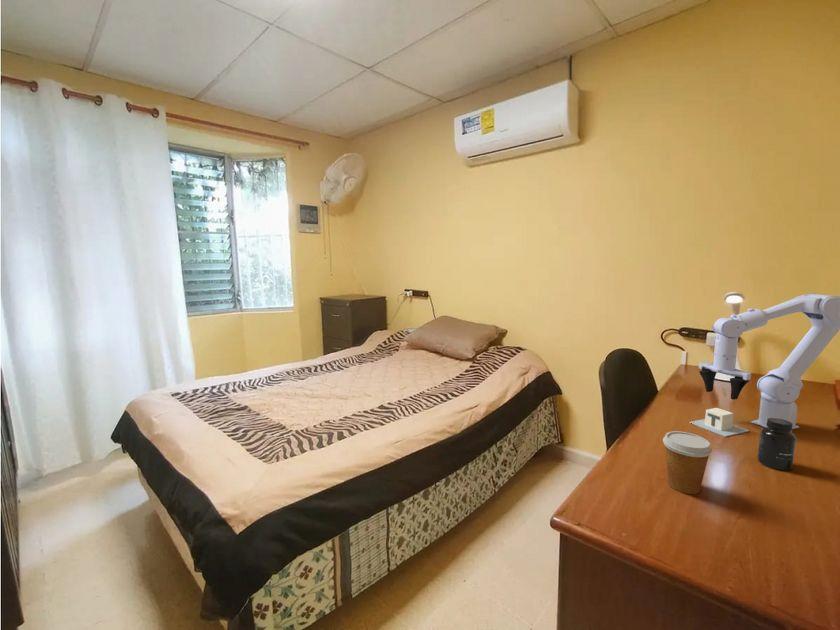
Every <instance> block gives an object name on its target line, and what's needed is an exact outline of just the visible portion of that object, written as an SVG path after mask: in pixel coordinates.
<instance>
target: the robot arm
mask: <svg viewBox="0 0 840 630" xmlns="http://www.w3.org/2000/svg"><path fill="white" fill-rule="evenodd" d="M800 312H801V313H802V314H804V315H805V317H806V318H807V319H808V320H809V323H810V324H811V327H810V329H809V330H808V331H807V332H806V334H805V335H804V336H803V337H802V339H801V340H800V341H799V342H798V344H797V345H795V347H794V348H793V349H792V351H791V352H790V354H789V355H788V356H787V357H786V358H785V360H784V361H783V362H782V364H781V365H780V366H779V367H777V368H774V369H771V370H769V371H768V373H767V374H765V375H762V376H761V377H760V378H759V379H758V380H757V382H756V387H757V389H758V391H760V395H761V396H760V404H759V412H758V414H759V415H758V419H756V420H755V419H754V420H752V421H751V423H752V424H755V425H757V426H761V427H763V428H765V427H767V426H766V423H767V419H768V418H779V419H783V420H786V421H789V422H791V423H792V424H793V427H792V430H796V429H799V428H800V426H799V425H796V424H797V416H798V414H797V413H798V405H797V404H796V402H795V401H796V400H797V399H798V398H799V396H800V391H801V389H802V388H803V387H804V384H803V382H802V381H803V380H802V378H801V377H802V376H803V375H804V374H805V373H806V371H808V369H809V368H810V367H811V366H812V364H814V362H815V361H816V360H817V358H818V357H819V356H820V355H821V354H822V352H823V351H824V349H826V347H827V346H828V345H829V344H830V342H832V340H833V339H834V338H835V336H837V334H838V333H839V331H840V296H839V295H827V294H816V293H813V292H812V293H806V294H803V295H798V296H795V297H793V298H792V299H789V300H786V301H784V302H782V303H781V302H780V303H779V304H776V305H774V306H769V307H768V308H765V309H763V310H762V309H759V308H752V307H751V308H747V309H746V311H744V312H741V313H738V314H733V313H732V314H731V315H730V317H729V318H728V317H720V318H718V319H716V320H715V322H714V324H712V331H713V332H714V333H715V334H714V335H715V337H714V351H713V362H712V363H707V362H699V363H698V364H699V365H698V369H700V370H699V374H700V376H701V377H702V380H703V383H704V387H705V392H706V393H712V392H713V390H714V387H715V385H714V384H715V378H716V376H717V373H719V374H722V375H726V376H730V378H729V382H730V390H731V391H730V399H731V400H737V399H738V398H739V396H740V393H741V391H742V390H743V388H744V387H745V386H746V384H747V383H749V382H750V380H752V379H751V378H752V373H750V372H746V371H743V370H740V369H737V367H736V365H737V356H738V343H739V337H741V335H743V333H745V332H748V331H752V330H755V329H758V328H761V327H764V326H766V325H767V324H768V322H769V321H770V320H774V319H778V318H781V317H784V316H787V315H792V314H795V313H800Z"/></svg>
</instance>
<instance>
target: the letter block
mask: <svg viewBox="0 0 840 630" xmlns="http://www.w3.org/2000/svg"><path fill="white" fill-rule="evenodd" d="M704 419H705V425H708V426H710V427H713V428H716V429H718V430H721V431H722V430H726V429H731V428H732V424H733V422H734V412H731V411H728V410H724V409H721V408H719V407H714V408H709V409H705V416H704Z"/></svg>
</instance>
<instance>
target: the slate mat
mask: <svg viewBox="0 0 840 630" xmlns="http://www.w3.org/2000/svg"><path fill="white" fill-rule="evenodd" d="M691 423H692V425H693V424H694V426H695V427H698V428H701V429H703V430H707V431H709V432H712V433H713V434H716V435H720V436H722V437H724V438H727V437H731V436H736V435H740V434H743V433H748V432H749V433H750V430H749V429H746V428H744V427H741V426H739V425H736V424H733V423H732V428H731V429H726V430H722V431H721V430H718V429H716V428H713V427H710V426H708V425H705V418H703V419H697V420H694V421H688V424H691Z"/></svg>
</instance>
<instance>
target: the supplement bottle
mask: <svg viewBox="0 0 840 630" xmlns="http://www.w3.org/2000/svg"><path fill="white" fill-rule="evenodd" d="M766 426H767V427H762V428H761V430H760V432H759V433H760V434H759V441H758V448H757V449H758V450H757V457H756V458H757V461H758V462H759V463H760V464H762V465H764V466H765V467H768V468H770V469H774V470H778V471H791V470H792V469H793V465H794V459H795V454H796V453H795V452H796V444H797V437H796V435H795V434H794V433H793V429H792V427H793V424H792V423H791V422H789V421H786V420H783V419H779V418H768V419H767V423H766Z"/></svg>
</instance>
